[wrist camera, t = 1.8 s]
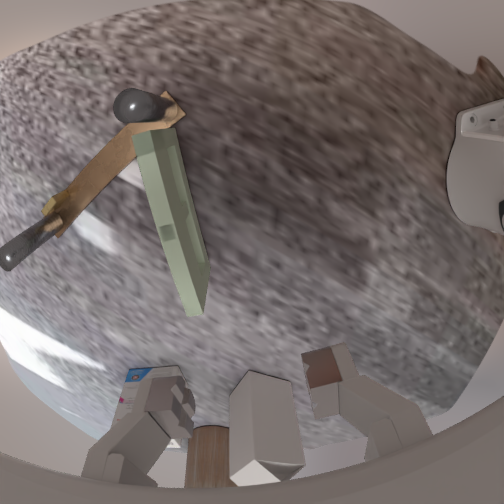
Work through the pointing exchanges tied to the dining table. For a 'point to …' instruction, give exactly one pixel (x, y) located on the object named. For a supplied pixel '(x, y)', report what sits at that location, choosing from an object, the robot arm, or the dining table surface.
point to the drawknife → (96, 170)
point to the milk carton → (263, 431)
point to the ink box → (132, 387)
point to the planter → (208, 458)
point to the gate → (174, 214)
